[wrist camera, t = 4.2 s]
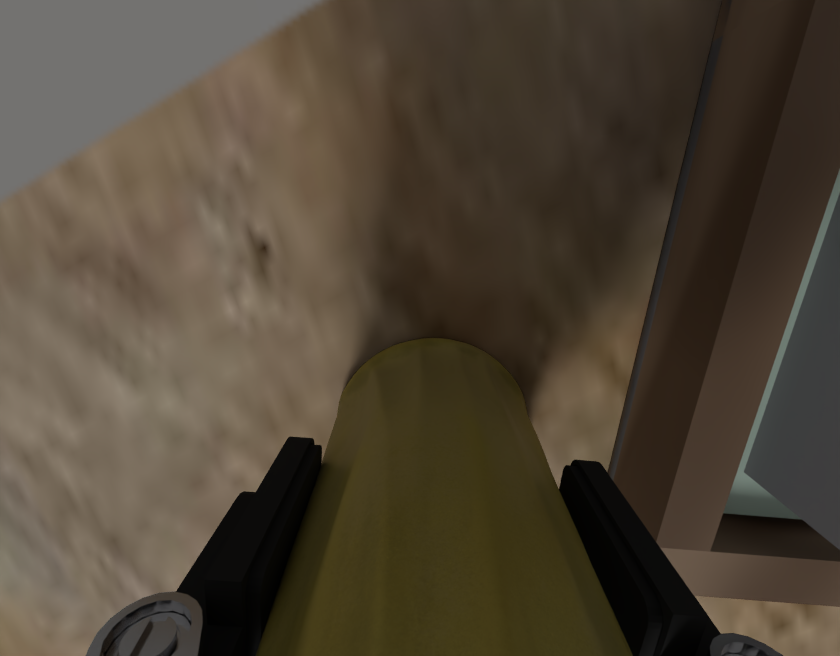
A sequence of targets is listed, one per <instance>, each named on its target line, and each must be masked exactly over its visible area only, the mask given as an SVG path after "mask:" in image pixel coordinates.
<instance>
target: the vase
mask: <svg viewBox="0 0 840 656" xmlns="http://www.w3.org/2000/svg"><path fill="white" fill-rule="evenodd" d="M256 656H633V655H632V652H631V650H630V648H629V646H628V643H627V641H626V639H625V637H624V634H623V632H622V630H621V628H620V625H619V623H618V621H617V619H616V617H615V614H614V612H613V610H612V608H611V606H610V604H609V601H608V599H607V597H606V595H605V593H604V591H603V589H602V586H601V584H600V582H599V580H598V578H597V575H596V573H595V571H594V569H593V567H592V564H591V562H590V560H589V557H588V555H587V552H586V550H585V548H584V545H583V543H582V541H581V538H580V536H579V534H578V531H577V529H576V527H575V525H574V522H573V520H572V518H571V516H570V513H569V511H568V509H567V507H566V504H565V502H564V500H563V498H562V496H561V493H560V491H559V489H558V487H557V484H556V482H555V480H554V477H553V475H552V472H551V470H550V467H549V465H548V462H547V459H546V457H545V454H544V451H543V449H542V446H541V444H540V441H539V439H538V437H537V434H536V432H535V430H534V428H533V426H532V423H531V421H530V419H529V417H528V415H527V409H526V404H525V400H524V397H523V394H522V391H521V389H520V388H519V386H518V384H517V382H516V381H515V380H514V378H513V377H512V375H511V374H510V373H509V372H508V371H507V370H506V369H505V368H504V367H503V366H502V365H501V364H500V363H499V362H498V361H497V360H496V359H494V358H493V357H492V356H490V355H489V354H487V353H486V352H484V351H482V350H480V349H478V348H477V347H474V346H472V345H469V344H467V343H463V342H459V341H455V340H450V339H443V338H422V339H416V340H410V341H407V342H403V343H400V344H397V345H394V346H391V347H389V348H387V349H385V350H383V351H381V352H379V353H378V354H376V355H374V356H373V357H372V358H371V359H369V360H368V361H367V362H366V363H365V364H363V365H362V366H361V367H360V368H359V369H358V371H357V372H356V373H355V374H354V375H353V377H352V378H351V380H350V381H349V383H348V384H347V386H346V387H345V389H344V391H343V392H342V395H341V398H340V401H339V406H338V413H337V418H336V421H335V424H334V427H333V430H332V433H331V436H330V439H329V442H328V445H327V448H326V451H325V454H324V457H323V460H322V463H321V468H320V471H319V474H318V477H317V480H316V483H315V486H314V489H313V491H312V494H311V497H310V499H309V502H308V505H307V508H306V511H305V513H304V516H303V519H302V522H301V524H300V527H299V530H298V533H297V536H296V538H295V541H294V544H293V547H292V550H291V553H290V556H289V559H288V561H287V564H286V567H285V570H284V573H283V576H282V579H281V582H280V585H279V588H278V591H277V594H276V596H275V599H274V602H273V605H272V608H271V611H270V614H269V617H268V620H267V623H266V626H265V629H264V632H263V635H262V638H261V641H260V644H259V647H258V650H257V653H256Z"/></svg>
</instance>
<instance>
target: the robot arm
mask: <svg viewBox="0 0 840 656" xmlns="http://www.w3.org/2000/svg"><path fill="white" fill-rule="evenodd" d="M321 461H322V447H321V445H314V439H313V438H301V437H289V438H288V439H287V440H286V442H285V444H284V446H283V447H282V449H281V451H280V452H279V454H278V456H277V457H276V459H275V461H274V462H273V464H272V466H271V467H270V469H269V471H268V473H267V474H266V476H265V478H264V479H263V481H262V483H261V484H260V486H259V488H258V489H257V491H256V492H242V493H240V494H239V496H238V497H237V498H236V500H235V501H234V503H233V504H232V506H231V507H230V509H229V511H228V512H227V514H226V515H225V517H224V518H223V520H222V521H221V523H220V524H219V526H218V528H217V529H216V531H215V532H214V534H213V535H212V537H211V538H210V540H209V541H208V543H207V545H206V546H205V548H204V549H203V551H202V552H201V554H200V555H199V557H198V558H197V560H196V562H195V563H194V565H193V566H192V568H191V569H190V571H189V572H188V574H187V575H186V577H185V579H184V580H183V582H182V583H181V585H180V586H179V588H178V589H177V591H176V592H164V593H157V594H154V595H151V596H148V597H144V598H142V599H140V600H138V601H136V602H134V603H132V604H130V605H128V606H126V607H125V608H124V609H122V610H121V611H120V612H118V613H117V614H116V615H114V616H113V617H112V618H110V619H109V621H108V622H107V623H106V624H105V625H104V626H103V627H102V628H101V629H100V630H99V632H98V633H97V634H96V636H95V638H94V640H93V642H92V643H91V645H90V647H89V649H88V651H87V654H86V656H256V653H257V650H258V647H259V644H260V641H261V638H262V635H263V632H264V629H265V626H266V623H267V620H268V617H269V614H270V611H271V608H272V605H273V602H274V599H275V596H276V594H277V591H278V588H279V585H280V582H281V579H282V576H283V573H284V570H285V567H286V564H287V561H288V559H289V556H290V553H291V550H292V547H293V544H294V541H295V538H296V536H297V533H298V530H299V527H300V524H301V522H302V519H303V516H304V513H305V511H306V508H307V505H308V502H309V499H310V497H311V494H312V491H313V489H314V486H315V483H316V480H317V477H318V474H319V471H320V468H321ZM559 491H560V493H561V496H562V498H563V500H564V502H565V504H566V507H567V509H568V511H569V513H570V516H571V518H572V520H573V522H574V525H575V527H576V529H577V531H578V534H579V536H580V538H581V541H582V543H583V545H584V548H585V550H586V552H587V555H588V557H589V560H590V562H591V564H592V567H593V569H594V571H595V573H596V575H597V578H598V580H599V582H600V584H601V586H602V589H603V591H604V593H605V595H606V597H607V599H608V601H609V604H610V606H611V608H612V610H613V612H614V614H615V617H616V619H617V621H618V623H619V625H620V628H621V630H622V632H623V634H624V637H625V639H626V641H627V643H628V646H629V648H630V650H631V652H632V655H633V656H783V655H782V654H780V653H778V652H777V651H775V650H774V649H772V648H770V647H769V646H767V645H766V644H764V643H761V642H759V641H757V640H755V639H752V638H750V637H748V636H743V635H739V634H735V633H727V634H720V632H719V631H718V629H717V628H716V627H715V625H714V624H713V622H712V621H711V619H710V618H709V616H708V615H707V613H706V612H705V611H704V609H703V608H702V606H701V605H700V604H699V602H698V601H697V599H696V598H695V596H694V595H693V594H692V592H691V591H690V589H689V588H688V587H687V585H686V584H685V582H684V581H683V579H682V578H681V577H680V575H679V574H678V572H677V571H676V569H675V568H674V567H673V565H672V564H671V562H670V561H669V560H668V558H667V557H666V555H665V554H664V552H663V551H662V550H661V548H660V547H659V545H658V544H657V543H656V541H655V540H654V538H653V537H652V535H651V534H650V533H649V531H648V530H647V528H646V527H645V525H644V524H643V523H642V521H641V520H640V518H639V517H638V516H637V514H636V513H635V511H634V510H633V508H632V507H631V506H630V504H629V503H628V501H627V500H626V499H625V497H624V496H623V494H622V493H621V491H620V490H619V489H618V487H617V486H616V484H615V483H614V481H613V480H612V479H611V477H610V476H609V474H608V473H607V472H606V470H605V469H604V467H603V466H602V465H601V464H600V463H599V462H596V461H584V460H574V461H573V462H572V463H571V466H569V465H566V466H565V467H564V469H563V473H562V478H561V483H560V488H559Z"/></svg>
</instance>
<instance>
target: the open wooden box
mask: <svg viewBox="0 0 840 656" xmlns="http://www.w3.org/2000/svg"><path fill="white" fill-rule="evenodd" d="M839 169H840V0H722V4H721V8H720V12H719V16H718V21H717V25H716V29H715V33H714V37H713V41H712V45H711V49H710V54H709V58H708V62H707V66H706V70H705V74H704V78H703V82H702V87H701V91H700V95H699V99H698V103H697V107H696V111H695V116H694V120H693V124H692V128H691V132H690V136H689V140H688V144H687V149H686V153H685V157H684V161H683V165H682V169H681V173H680V177H679V182H678V186H677V190H676V194H675V198H674V202H673V206H672V210H671V215H670V219H669V223H668V227H667V231H666V235H665V239H664V244H663V248H662V252H661V256H660V260H659V264H658V268H657V272H656V277H655V281H654V285H653V289H652V293H651V297H650V301H649V305H648V310H647V314H646V318H645V322H644V326H643V330H642V334H641V339H640V343H639V347H638V351H637V355H636V359H635V363H634V367H633V372H632V376H631V380H630V384H629V388H628V392H627V396H626V400H625V405H624V409H623V413H622V417H621V421H620V425H619V429H618V433H617V438H616V442H615V446H614V450H613V454H612V458H611V462H610V467H609V471H608V474H609V476H610V477H611V479H612V480H613V481H614V483H615V484H616V486H617V487H618V489H619V490H620V491H621V493H622V494H623V496H624V497H625V499H626V500H627V501H628V503H629V504H630V506H631V507H632V508H633V510H634V511H635V513H636V514H637V516H638V517H639V518H640V520H641V521H642V523H643V524H644V525H645V527H646V528H647V530H648V531H649V533H650V534H651V535H652V537H653V538H654V540H655V541H656V543H657V544H658V545H659V547H660V548H661V550H662V551H663V552H664V554H665V555H666V557H667V558H668V560H669V561H670V562H671V564H672V565H673V567H674V568H675V569H676V571H677V572H678V574H679V575H680V577H681V578H682V579H683V581H684V582H685V584H686V585H687V587H688V588H689V589H690V591H691V592H692V594H693V595H694V596H705V597H719V598H732V599H745V600H758V601H772V602H785V603H798V604H811V605H825V606H838V607H840V550H839V549H838V548H837V547H835V546H834V545H833V544H832V543H830V542H829V541H828V540H827V539H825V538H824V537H823V536H822V535H821V534H819V533H818V532H817V531H816V530H814V529H813V528H812V527H811V526H809V525H808V524H807V523H806V522H805V521H803V520H802V519H789V518H777V517H764V516H751V515H739V514H726V513H723V512H724V509H725V506H726V503H727V500H728V497H729V494H730V491H731V488H732V485H733V482H734V479H735V477H736V474H737V471H738V468H739V465H740V462H741V459H742V456H743V453H744V450H745V447H746V444H747V441H748V438H749V435H750V432H751V429H752V426H753V423H754V420H755V417H756V415H757V412H758V409H759V406H760V403H761V400H762V397H763V394H764V391H765V388H766V385H767V382H768V379H769V376H770V373H771V370H772V367H773V364H774V361H775V358H776V355H777V353H778V350H779V347H780V344H781V341H782V338H783V335H784V332H785V329H786V326H787V323H788V320H789V317H790V314H791V311H792V308H793V305H794V302H795V299H796V296H797V293H798V290H799V288H800V285H801V282H802V279H803V276H804V273H805V270H806V267H807V264H808V261H809V258H810V255H811V252H812V249H813V246H814V243H815V240H816V237H817V234H818V231H819V228H820V226H821V223H822V220H823V217H824V214H825V211H826V208H827V205H828V202H829V199H830V196H831V193H832V190H833V187H834V184H835V181H836V178H837V175H838V172H839Z"/></svg>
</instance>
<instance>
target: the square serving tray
mask: <svg viewBox="0 0 840 656" xmlns="http://www.w3.org/2000/svg"><path fill="white" fill-rule="evenodd" d="M723 513H726V514H739V515H751V516H764V517H777V518H789V519H802V520H803V521H805V522H806V523H807V524H808V525H809V526H811V527H812V528H813V529H814V530H816V531H817V532H818V533H819V534H821V535H822V536H823V537H824V538H825V539H827V540H828V541H829V542H830V543H832V544H833V545H834V546H835V547H837V548H838V549H839V550H840V169H839V172H838V175H837V178H836V181H835V184H834V187H833V190H832V193H831V196H830V199H829V202H828V205H827V208H826V211H825V214H824V217H823V220H822V223H821V226H820V228H819V231H818V234H817V237H816V240H815V243H814V246H813V249H812V252H811V255H810V258H809V261H808V264H807V267H806V270H805V273H804V276H803V279H802V282H801V285H800V288H799V290H798V293H797V296H796V299H795V302H794V305H793V308H792V311H791V314H790V317H789V320H788V323H787V326H786V329H785V332H784V335H783V338H782V341H781V344H780V347H779V350H778V353H777V355H776V358H775V361H774V364H773V367H772V370H771V373H770V376H769V379H768V382H767V385H766V388H765V391H764V394H763V397H762V400H761V403H760V406H759V409H758V412H757V415H756V417H755V420H754V423H753V426H752V429H751V432H750V435H749V438H748V441H747V444H746V447H745V450H744V453H743V456H742V459H741V462H740V465H739V468H738V471H737V474H736V477H735V479H734V482H733V485H732V488H731V491H730V494H729V497H728V500H727V503H726V506H725V509H724V512H723Z"/></svg>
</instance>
